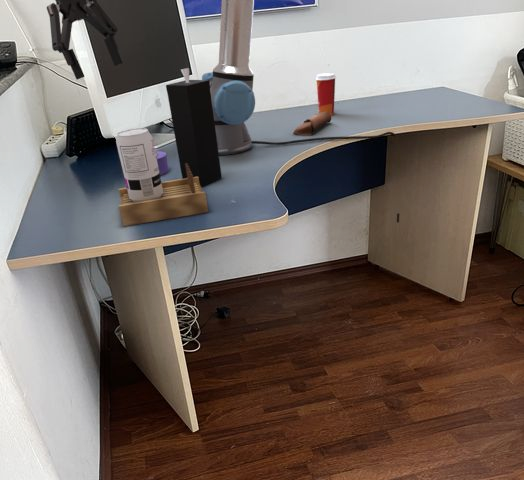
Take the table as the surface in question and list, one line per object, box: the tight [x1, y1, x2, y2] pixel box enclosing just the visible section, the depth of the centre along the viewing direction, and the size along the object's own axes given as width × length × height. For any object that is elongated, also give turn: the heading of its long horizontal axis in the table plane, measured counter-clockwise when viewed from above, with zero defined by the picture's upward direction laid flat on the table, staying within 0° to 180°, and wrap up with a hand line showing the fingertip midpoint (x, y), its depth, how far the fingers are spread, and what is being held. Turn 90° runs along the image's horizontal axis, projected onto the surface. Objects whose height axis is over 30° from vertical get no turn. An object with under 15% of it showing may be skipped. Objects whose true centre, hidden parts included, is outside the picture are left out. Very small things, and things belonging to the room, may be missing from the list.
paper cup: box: [315, 72, 337, 116], centre depth 200 cm, size 8×8×14 cm
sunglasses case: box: [292, 112, 332, 136], centre depth 185 cm, size 18×7×7 cm, turn 155°
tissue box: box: [165, 67, 223, 187], centre depth 138 cm, size 8×8×28 cm
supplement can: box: [115, 127, 163, 202], centre depth 122 cm, size 8×8×15 cm
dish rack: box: [118, 163, 209, 227], centre depth 126 cm, size 20×14×9 cm
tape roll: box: [155, 150, 170, 177], centre depth 156 cm, size 12×12×5 cm
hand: (100, 71), depth 138 cm, fingers open, 13 cm apart
